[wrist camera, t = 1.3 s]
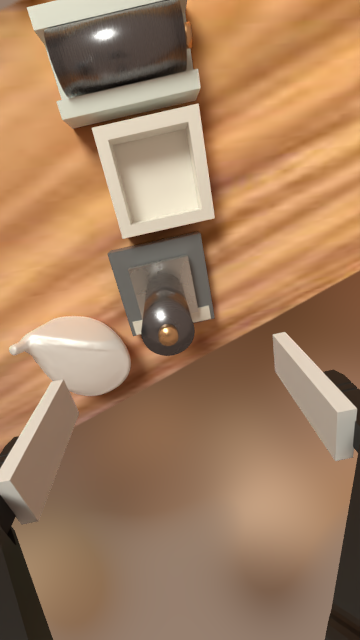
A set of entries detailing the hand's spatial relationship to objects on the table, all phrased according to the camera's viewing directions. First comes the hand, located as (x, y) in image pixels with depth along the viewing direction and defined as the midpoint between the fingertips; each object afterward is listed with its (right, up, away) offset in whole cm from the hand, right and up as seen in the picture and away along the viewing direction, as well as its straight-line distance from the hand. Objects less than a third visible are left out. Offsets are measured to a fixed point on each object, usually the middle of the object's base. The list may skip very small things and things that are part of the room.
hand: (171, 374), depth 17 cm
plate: (-1, +7, +16) cm, 18 cm away
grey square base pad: (-2, +8, +19) cm, 20 cm away
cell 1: (-5, +28, +9) cm, 29 cm away
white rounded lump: (-13, -1, +22) cm, 25 cm away
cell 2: (-1, +7, +16) cm, 17 cm away
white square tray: (-2, +19, +14) cm, 24 cm away
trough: (-5, +28, +10) cm, 30 cm away
